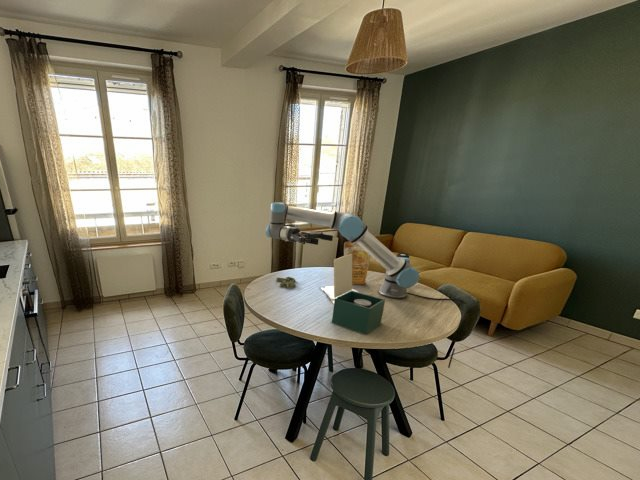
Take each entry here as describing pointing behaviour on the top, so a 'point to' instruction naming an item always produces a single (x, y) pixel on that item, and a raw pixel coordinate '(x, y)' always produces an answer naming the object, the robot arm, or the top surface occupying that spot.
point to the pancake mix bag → (357, 262)
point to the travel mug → (403, 255)
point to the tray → (332, 292)
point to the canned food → (363, 302)
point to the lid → (342, 275)
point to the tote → (357, 312)
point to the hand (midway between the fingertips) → (325, 240)
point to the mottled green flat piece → (289, 285)
